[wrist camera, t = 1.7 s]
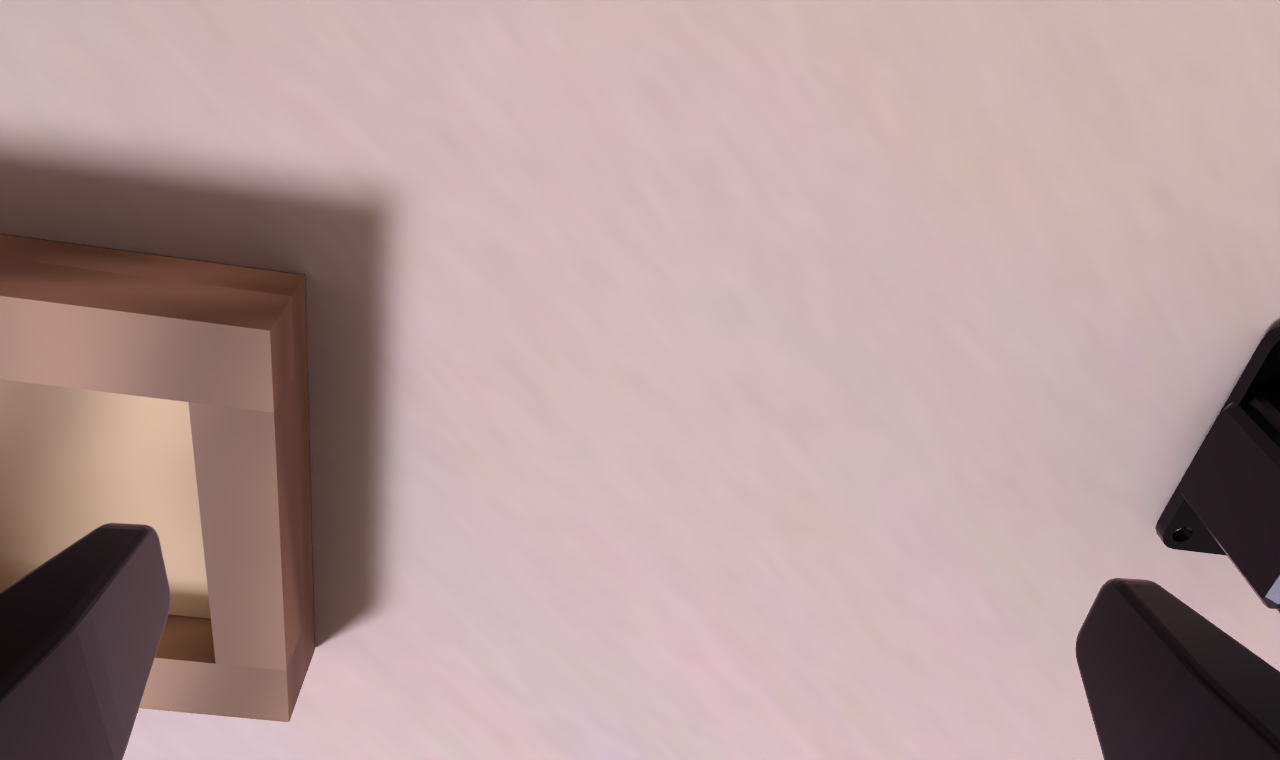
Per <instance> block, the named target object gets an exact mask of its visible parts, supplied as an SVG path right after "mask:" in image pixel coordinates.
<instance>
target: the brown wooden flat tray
mask: <svg viewBox="0 0 1280 760" xmlns="http://www.w3.org/2000/svg"><path fill="white" fill-rule="evenodd" d="M108 523H123V524H142V525H148V526H151V527H152V528H154V529H155V531H156V532H157V534H158V537H159V540H160V545H161V550H162V555H163V559H164V564H165V569H166V574H167V578H168V583H169V588H170V607H169V613H168V617H167V620H166V624H165V627H164V630H163V633H162V636H161V639H160V643H159V646H158V649H157V652H156V655H155V659H154V662H153V665H152V668H151V671H150V674H149V678H148V681H147V684H146V687H145V690H144V694H143V697H142V700H141V703H140V706H139V708H144V709H155V710H165V711H176V712H187V713H197V714H208V715H219V716H229V717H240V718H251V719H261V720H272V721H283V722H289V721H290V718H291V715H292V712H293V709H294V707H295V704H296V701H297V698H298V695H299V693H300V690H301V687H302V684H303V681H304V678H305V676H306V673H307V670H308V667H309V664H310V662H311V659H312V656H313V653H314V650H315V641H314V603H313V564H312V526H311V488H310V450H309V412H308V373H307V335H306V297H305V275H299V274H292V273H284V272H277V271H269V270H262V269H255V268H247V267H240V266H232V265H225V264H217V263H210V262H203V261H195V260H188V259H180V258H173V257H166V256H158V255H151V254H143V253H136V252H129V251H121V250H114V249H106V248H99V247H92V246H84V245H77V244H69V243H62V242H54V241H47V240H40V239H32V238H25V237H17V236H10V235H3V234H0V592H1V591H2V590H4V589H5V588H7V587H8V586H10V585H11V584H13V583H14V582H16V581H17V580H19V579H20V578H22V577H23V576H25V575H26V574H28V573H29V572H31V571H32V570H34V569H35V568H37V567H38V566H40V565H41V564H43V563H44V562H46V561H47V560H49V559H51V558H52V557H54V556H55V555H57V554H58V553H60V552H61V551H63V550H64V549H66V548H67V547H69V546H70V545H72V544H73V543H75V542H76V541H78V540H79V539H81V538H82V537H84V536H85V535H87V534H88V533H90V532H91V531H93V530H94V529H96V528H98V527H99V526H101V525H104V524H108Z"/></svg>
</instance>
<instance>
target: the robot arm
mask: <svg viewBox="0 0 1280 760" xmlns="http://www.w3.org/2000/svg"><path fill="white" fill-rule="evenodd" d="M1182 527H1183V528H1182ZM1179 528H1182V529H1180V530H1178V531H1176V530H1177V529H1179ZM1156 532H1157V534H1158V536H1159V537H1160V538H1161V540H1162V541H1163V543H1164V544H1165V545H1166V546H1167V547H1169V548H1172V549H1178V550H1187V551H1195V552H1203V553H1212V554H1220V555H1227V556H1228V557H1229V558H1230V560H1231V561H1232V562H1233V564H1234V565H1235V566H1236V568H1237V569H1238V570H1239V572H1240V573H1241V574H1242V576H1243V577H1244V578H1245V580H1246V581H1247V582H1248V584H1249V585H1250V586H1251V588H1252V589H1253V590H1254V592H1255V593H1256V594H1257V596H1258V597H1259V598H1260V600H1261V601H1262V602H1263V604H1264V605H1266V606H1267V607H1268V608H1272V609H1277V610H1278V611H1279V613H1280V327H1278V328H1275V329H1273V330H1272V331H1270V332H1269V333H1268V334H1266V336H1265V337H1264V338H1263V339H1262V340H1261V342H1260V344H1259V345H1258V347H1257V349H1256V351H1255V352H1254V354H1253V356H1252V358H1251V359H1250V361H1249V363H1248V365H1247V366H1246V368H1245V370H1244V372H1243V373H1242V375H1241V377H1240V379H1239V380H1238V382H1237V384H1236V386H1235V387H1234V389H1233V391H1232V393H1231V394H1230V396H1229V398H1228V400H1227V401H1226V403H1225V405H1224V407H1223V408H1222V410H1221V412H1220V414H1219V415H1218V417H1217V419H1216V421H1215V422H1214V424H1213V426H1212V428H1211V429H1210V431H1209V433H1208V435H1207V436H1206V438H1205V440H1204V442H1203V443H1202V445H1201V447H1200V449H1199V450H1198V452H1197V454H1196V455H1195V457H1194V459H1193V461H1192V462H1191V464H1190V466H1189V468H1188V469H1187V471H1186V473H1185V475H1184V476H1183V478H1182V480H1181V482H1180V483H1179V485H1178V487H1177V489H1176V490H1175V492H1174V494H1173V496H1172V497H1171V499H1170V501H1169V503H1168V504H1167V506H1166V508H1165V510H1164V511H1163V513H1162V515H1161V517H1160V518H1159V520H1158V522H1157V525H1156ZM169 607H170V588H169V583H168V578H167V574H166V569H165V564H164V559H163V555H162V550H161V545H160V540H159V537H158V534H157V532H156V531H155V529H154V528H152V527H151V526H148V525H142V524H123V523H108V524H104V525H101V526H99V527H98V528H96V529H94V530H93V531H91V532H90V533H88V534H87V535H85V536H84V537H82V538H81V539H79V540H78V541H76V542H75V543H73V544H72V545H70V546H69V547H67V548H66V549H64V550H63V551H61V552H60V553H58V554H57V555H55V556H54V557H52V558H51V559H49V560H47V561H46V562H44V563H43V564H41V565H40V566H38V567H37V568H35V569H34V570H32V571H31V572H29V573H28V574H26V575H25V576H23V577H22V578H20V579H19V580H17V581H16V582H14V583H13V584H11V585H10V586H8V587H7V588H5V589H4V590H2V591H1V592H0V760H122V759H123V756H124V753H125V750H126V747H127V744H128V741H129V738H130V735H131V732H132V728H133V725H134V722H135V719H136V716H137V713H138V709H139V706H140V703H141V700H142V697H143V694H144V690H145V687H146V684H147V681H148V678H149V674H150V671H151V668H152V665H153V662H154V659H155V655H156V652H157V649H158V646H159V643H160V639H161V636H162V633H163V630H164V627H165V624H166V620H167V617H168V613H169ZM1076 658H1077V663H1078V666H1079V670H1080V674H1081V677H1082V681H1083V684H1084V688H1085V692H1086V695H1087V699H1088V703H1089V706H1090V710H1091V713H1092V717H1093V721H1094V724H1095V728H1096V732H1097V735H1098V739H1099V742H1100V746H1101V750H1102V753H1103V757H1104V760H1280V672H1279V671H1278V670H1276V669H1275V668H1273V667H1272V666H1271V665H1269V664H1268V663H1267V662H1265V661H1264V660H1262V659H1261V658H1260V657H1258V656H1257V655H1255V654H1254V653H1253V652H1251V651H1250V650H1248V649H1247V648H1246V647H1244V646H1243V645H1241V644H1240V643H1239V642H1237V641H1236V640H1235V639H1233V638H1232V637H1230V636H1229V635H1228V634H1226V633H1225V632H1223V631H1222V630H1221V629H1219V628H1218V627H1216V626H1215V625H1214V624H1212V623H1211V622H1209V621H1208V620H1207V619H1205V618H1204V617H1203V616H1201V615H1200V614H1198V613H1197V612H1196V611H1194V610H1193V609H1191V608H1190V607H1189V606H1187V605H1186V604H1184V603H1183V602H1182V601H1180V600H1179V599H1177V598H1176V597H1175V596H1173V595H1172V594H1171V593H1169V592H1168V591H1166V590H1165V589H1164V588H1162V587H1161V586H1159V585H1158V584H1156V583H1154V582H1152V581H1148V580H1140V579H1122V578H1115V579H1110V580H1109V581H1107V582H1106V583H1105V584H1104V585H1103V586H1102V587H1101V589H1100V591H1099V593H1098V595H1097V597H1096V599H1095V601H1094V603H1093V605H1092V607H1091V609H1090V611H1089V613H1088V615H1087V617H1086V619H1085V621H1084V623H1083V625H1082V627H1081V629H1080V631H1079V634H1078V636H1077V641H1076Z"/></svg>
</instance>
